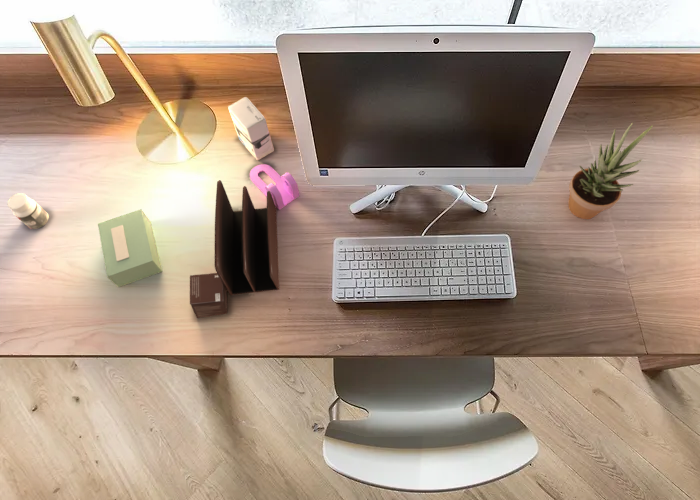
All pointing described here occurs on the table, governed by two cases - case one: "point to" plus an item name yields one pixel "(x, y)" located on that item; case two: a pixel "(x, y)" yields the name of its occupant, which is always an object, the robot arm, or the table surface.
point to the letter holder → (246, 244)
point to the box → (207, 295)
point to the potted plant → (601, 180)
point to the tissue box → (129, 248)
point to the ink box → (251, 128)
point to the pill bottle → (28, 211)
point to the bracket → (282, 190)
